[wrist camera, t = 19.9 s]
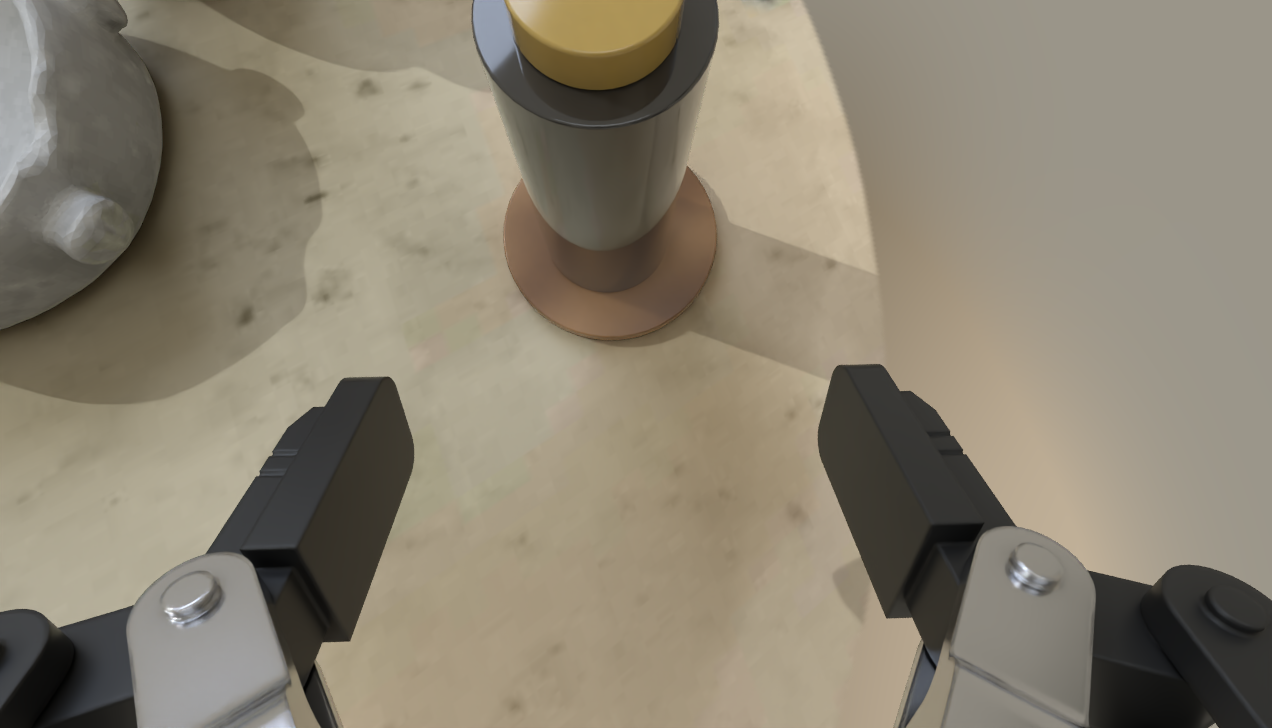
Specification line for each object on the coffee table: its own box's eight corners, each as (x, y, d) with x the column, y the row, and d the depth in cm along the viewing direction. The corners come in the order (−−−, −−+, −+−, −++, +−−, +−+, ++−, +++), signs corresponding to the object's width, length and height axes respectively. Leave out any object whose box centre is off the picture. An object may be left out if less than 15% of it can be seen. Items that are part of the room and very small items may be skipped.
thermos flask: (693, 227, 22) (784, -42, 10) (614, 318, 21) (608, 148, 9) (600, 152, 22) (579, -196, 10) (520, 239, 21) (397, -23, 10)
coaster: (755, 227, 22) (759, 221, 22) (622, 384, 21) (622, 382, 21) (599, 102, 23) (599, 93, 22) (462, 248, 22) (457, 243, 21)
